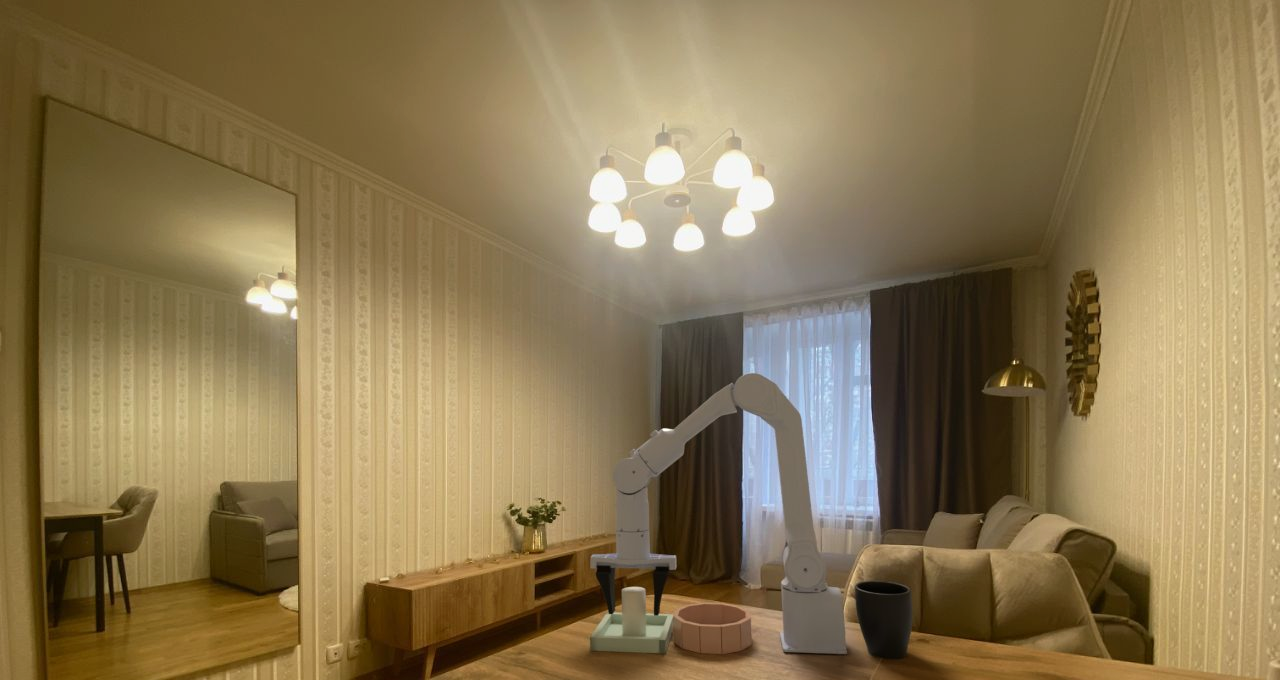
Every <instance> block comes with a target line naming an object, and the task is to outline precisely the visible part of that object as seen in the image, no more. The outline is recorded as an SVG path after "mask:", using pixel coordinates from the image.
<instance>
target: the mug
mask: <svg viewBox="0 0 1280 680" xmlns="http://www.w3.org/2000/svg"><path fill="white" fill-rule="evenodd" d="M912 594H913V593H912V589H911V588H910V587H908V586H906V585H904V584H902V583H901V584H900V583H896V582H893V581H885V580H884V581H883V580H874V579H871V580H867V581H861V582H858V583H855V585H854V595H855V597H854V598H855V610H856V616H857V618H858V619H857V620H858V625H859V627H860V631H861V634H862V637H863V640H864V642H865V646H866V649H867V652H868V653H869V654H871V655H872V656H875V657H877V658H881V659H887V660H898V659H903V658H905V657H907V653H908V647H909V644H910V639H911V634H912V629H913V628H912V627H913V617H914V616H913V613H914V610H913V609H914V608H913V595H912Z"/></svg>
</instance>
